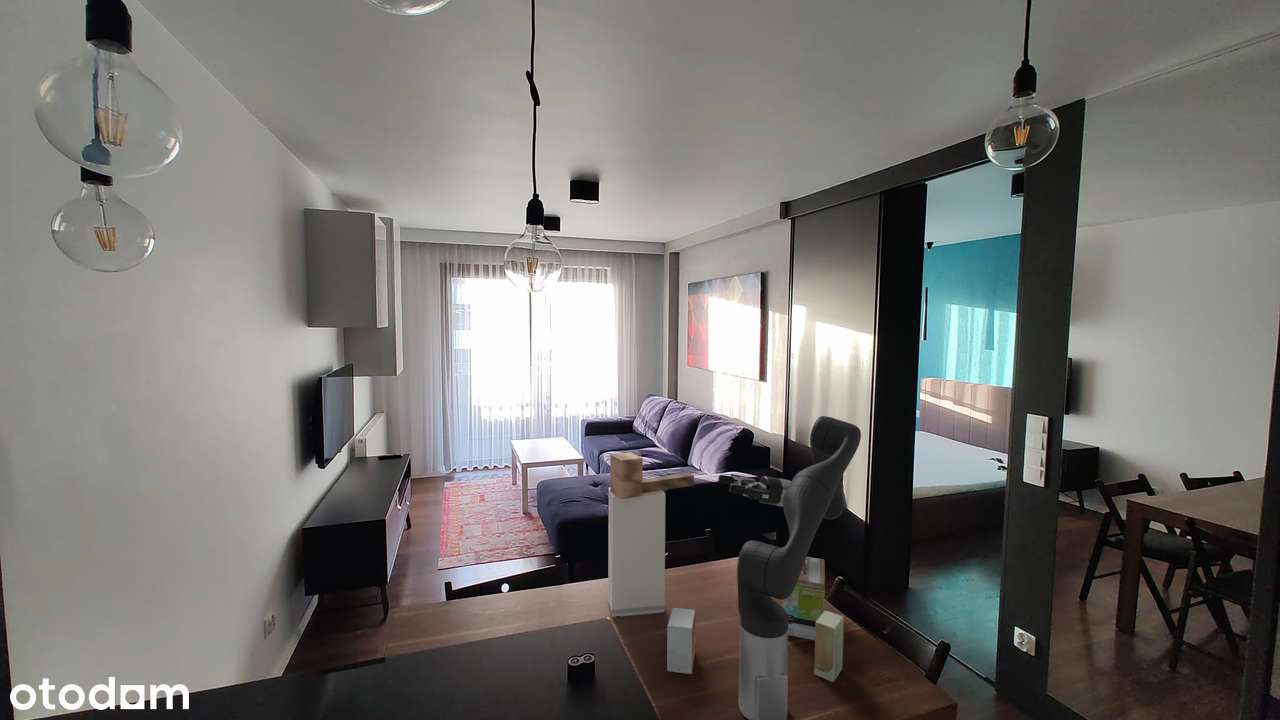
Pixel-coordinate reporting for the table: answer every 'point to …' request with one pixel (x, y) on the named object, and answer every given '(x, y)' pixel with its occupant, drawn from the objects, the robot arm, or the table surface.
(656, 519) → the pedestal
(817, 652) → the skincare box
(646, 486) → the mallet
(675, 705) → the table surface
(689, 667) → the small box
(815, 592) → the green coffee box
